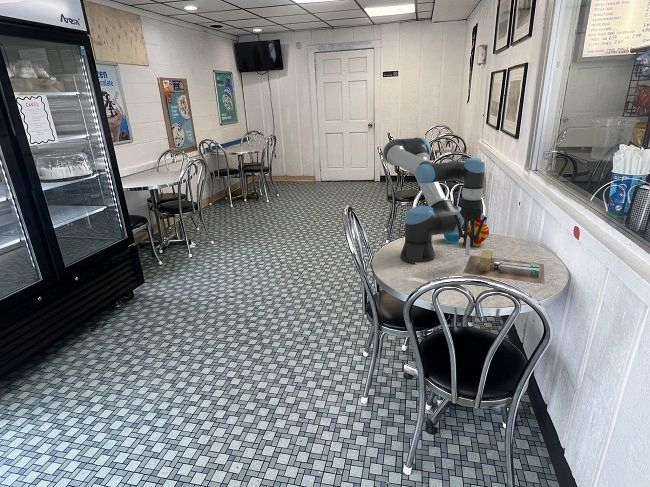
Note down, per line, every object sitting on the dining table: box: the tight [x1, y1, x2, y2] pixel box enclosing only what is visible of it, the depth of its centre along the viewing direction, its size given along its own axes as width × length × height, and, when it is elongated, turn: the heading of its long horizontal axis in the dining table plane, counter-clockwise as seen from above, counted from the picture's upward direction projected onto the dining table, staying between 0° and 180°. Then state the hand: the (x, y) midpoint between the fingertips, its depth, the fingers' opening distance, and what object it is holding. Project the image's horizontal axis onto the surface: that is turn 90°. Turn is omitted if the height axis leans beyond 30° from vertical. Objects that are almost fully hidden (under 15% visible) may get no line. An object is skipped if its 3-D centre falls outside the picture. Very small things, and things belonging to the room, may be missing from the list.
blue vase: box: [443, 231, 462, 244], centre depth 196 cm, size 9×9×15 cm
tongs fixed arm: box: [477, 261, 539, 277], centre depth 158 cm, size 23×4×3 cm, turn 63°
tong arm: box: [492, 260, 539, 269], centre depth 158 cm, size 17×4×3 cm, turn 67°
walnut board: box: [463, 254, 546, 285], centre depth 161 cm, size 29×21×1 cm
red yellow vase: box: [468, 216, 490, 247], centre depth 190 cm, size 10×10×15 cm
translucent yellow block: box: [479, 249, 494, 272], centre depth 162 cm, size 4×9×6 cm, turn 153°
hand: (467, 253), depth 164 cm, fingers closed
